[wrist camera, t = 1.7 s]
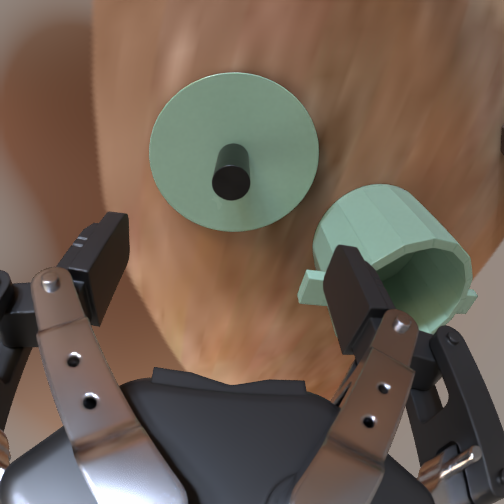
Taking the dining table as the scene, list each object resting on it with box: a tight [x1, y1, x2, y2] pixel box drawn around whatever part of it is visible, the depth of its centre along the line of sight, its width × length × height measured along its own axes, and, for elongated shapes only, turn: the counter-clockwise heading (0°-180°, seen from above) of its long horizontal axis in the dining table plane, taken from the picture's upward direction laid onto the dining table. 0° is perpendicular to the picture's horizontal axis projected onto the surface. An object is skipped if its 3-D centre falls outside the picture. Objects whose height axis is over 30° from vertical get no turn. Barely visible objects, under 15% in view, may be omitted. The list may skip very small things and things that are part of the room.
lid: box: [149, 73, 319, 232], centre depth 21 cm, size 14×14×7 cm
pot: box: [297, 184, 478, 338], centre depth 25 cm, size 13×18×10 cm
